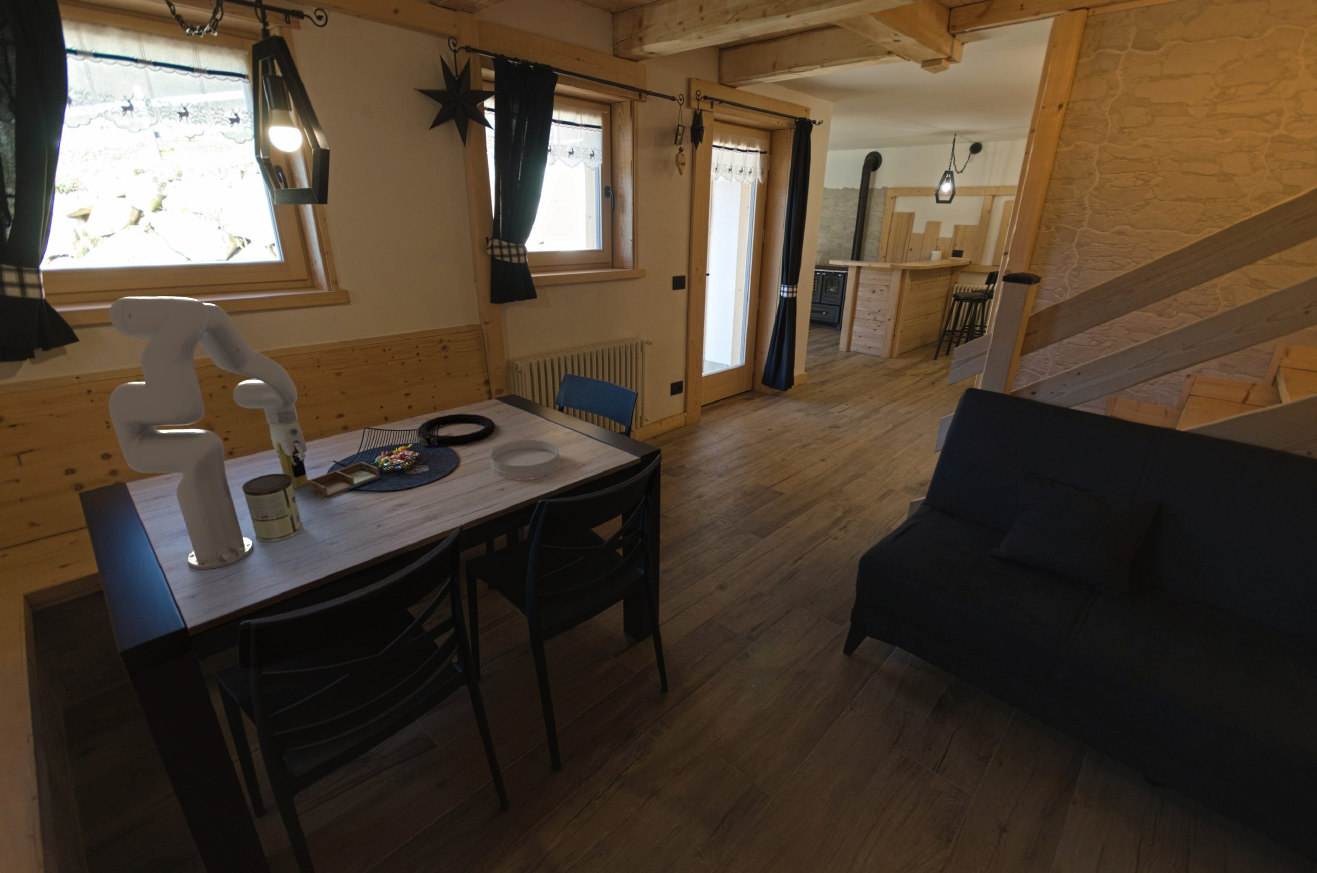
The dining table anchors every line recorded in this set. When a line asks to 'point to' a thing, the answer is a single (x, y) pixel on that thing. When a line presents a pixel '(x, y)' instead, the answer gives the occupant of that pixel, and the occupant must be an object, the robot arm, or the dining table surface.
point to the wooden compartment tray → (342, 479)
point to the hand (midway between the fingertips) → (294, 472)
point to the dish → (525, 459)
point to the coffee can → (272, 507)
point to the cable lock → (460, 439)
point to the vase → (288, 470)
